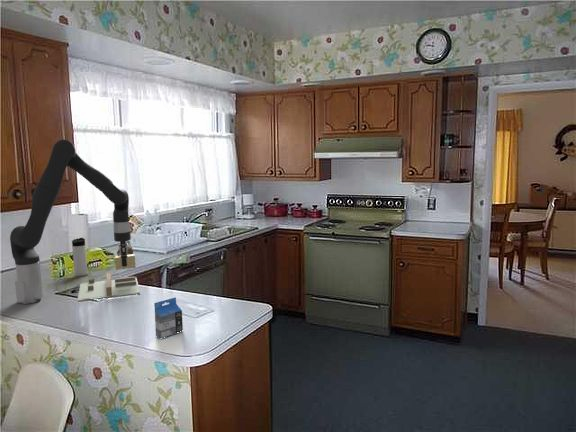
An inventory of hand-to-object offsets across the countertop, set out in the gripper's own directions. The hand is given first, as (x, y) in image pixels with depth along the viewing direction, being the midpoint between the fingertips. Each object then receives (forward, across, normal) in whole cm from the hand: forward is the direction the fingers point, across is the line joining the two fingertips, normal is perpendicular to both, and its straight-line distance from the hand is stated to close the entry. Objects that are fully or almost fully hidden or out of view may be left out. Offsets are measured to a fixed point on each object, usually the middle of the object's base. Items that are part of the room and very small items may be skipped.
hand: (124, 265), depth 215 cm
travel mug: (+10, +26, +21) cm, 35 cm away
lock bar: (+1, 0, 0) cm, 1 cm away
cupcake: (+10, +55, -2) cm, 56 cm away
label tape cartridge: (+10, -70, -12) cm, 72 cm away
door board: (+10, -5, +8) cm, 13 cm away
